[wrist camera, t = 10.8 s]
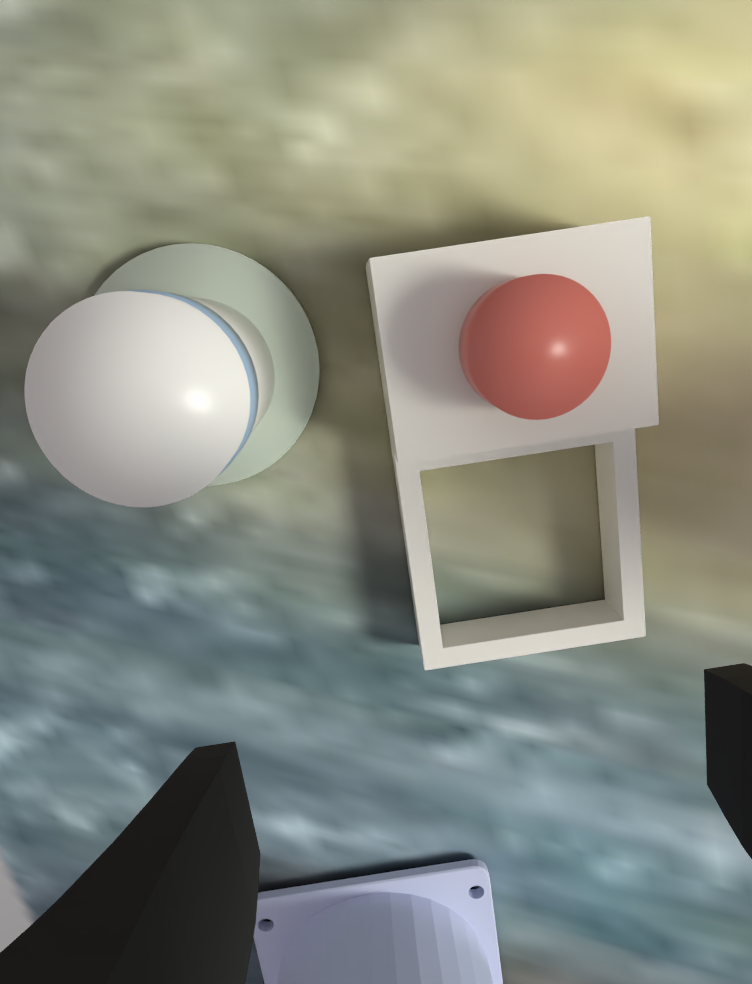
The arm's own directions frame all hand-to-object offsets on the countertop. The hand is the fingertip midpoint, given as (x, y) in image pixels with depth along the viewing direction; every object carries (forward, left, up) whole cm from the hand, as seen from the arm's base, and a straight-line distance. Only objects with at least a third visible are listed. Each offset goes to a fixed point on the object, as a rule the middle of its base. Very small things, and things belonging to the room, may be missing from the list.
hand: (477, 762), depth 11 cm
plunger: (+5, -3, -9) cm, 11 cm away
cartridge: (+6, +5, -10) cm, 13 cm away
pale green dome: (+6, +5, -10) cm, 13 cm away
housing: (+2, -3, -10) cm, 11 cm away
